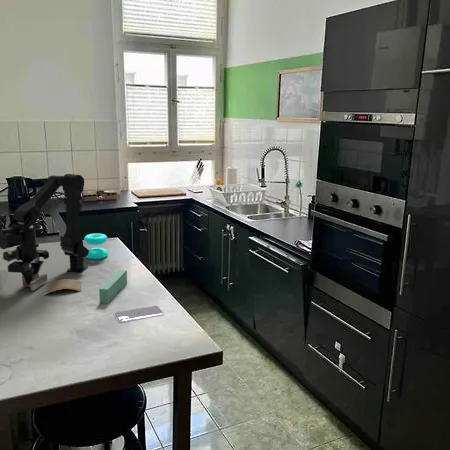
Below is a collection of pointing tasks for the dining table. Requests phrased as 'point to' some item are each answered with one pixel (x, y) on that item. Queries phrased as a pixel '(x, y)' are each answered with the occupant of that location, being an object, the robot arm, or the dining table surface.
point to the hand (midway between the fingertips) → (31, 282)
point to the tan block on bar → (35, 281)
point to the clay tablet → (63, 285)
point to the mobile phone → (138, 314)
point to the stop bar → (113, 286)
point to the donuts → (96, 240)
